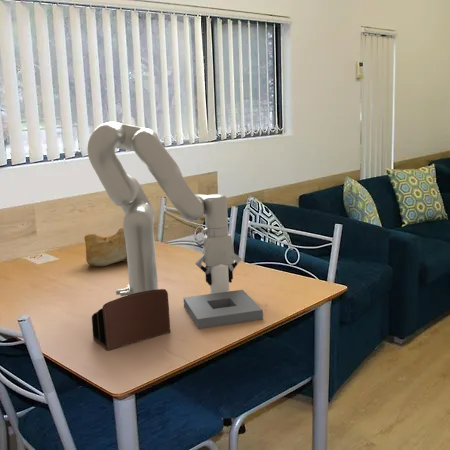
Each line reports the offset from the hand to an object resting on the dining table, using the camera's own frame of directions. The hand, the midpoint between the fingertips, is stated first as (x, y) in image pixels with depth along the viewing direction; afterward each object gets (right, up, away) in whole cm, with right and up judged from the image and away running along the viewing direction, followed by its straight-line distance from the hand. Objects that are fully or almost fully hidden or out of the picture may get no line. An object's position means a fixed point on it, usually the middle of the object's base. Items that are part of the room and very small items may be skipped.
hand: (219, 282), depth 198 cm
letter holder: (-25, -13, -31) cm, 42 cm away
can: (0, -4, +1) cm, 4 cm away
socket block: (+1, -8, -16) cm, 18 cm away
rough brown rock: (-45, +4, +48) cm, 66 cm away
